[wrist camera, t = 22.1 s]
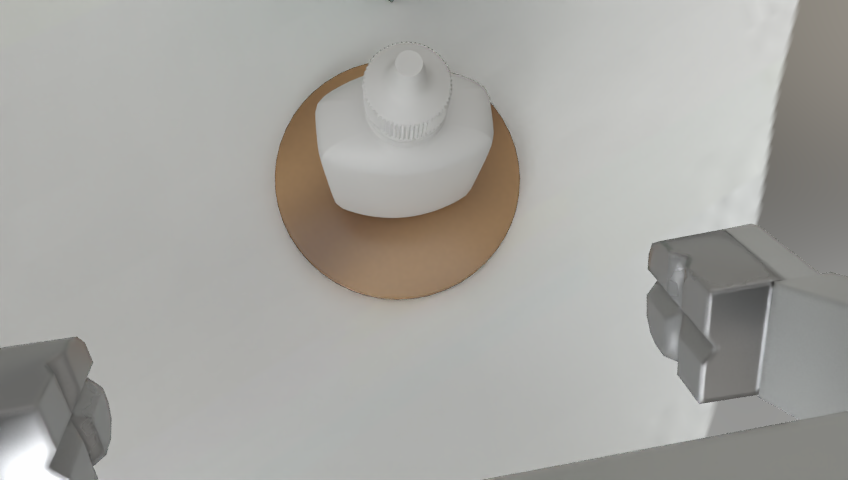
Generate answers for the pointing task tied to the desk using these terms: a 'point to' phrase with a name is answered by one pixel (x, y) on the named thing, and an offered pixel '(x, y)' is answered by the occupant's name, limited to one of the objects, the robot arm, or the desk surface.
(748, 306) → the robot arm
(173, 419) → the desk surface
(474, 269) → the coaster
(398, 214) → the eye dropper bottle
